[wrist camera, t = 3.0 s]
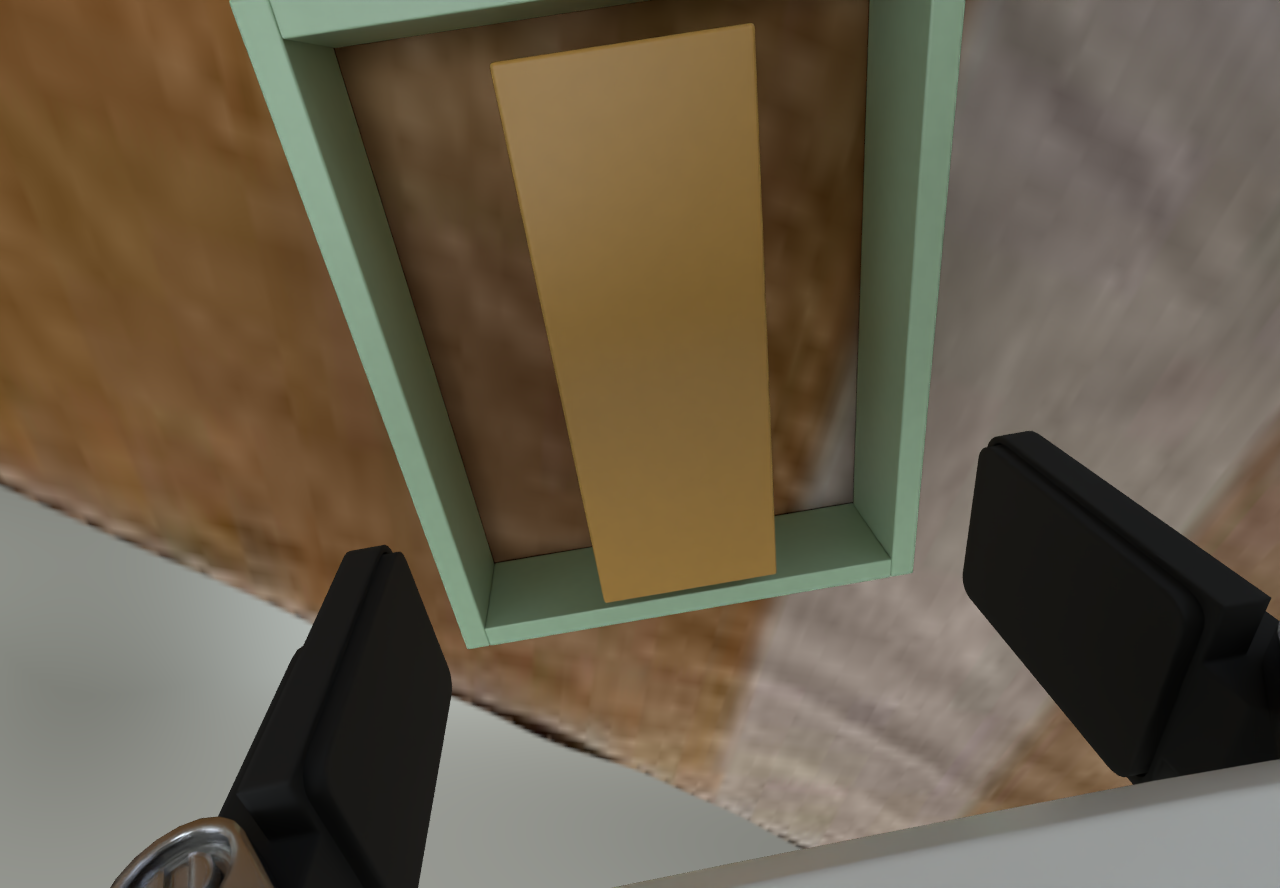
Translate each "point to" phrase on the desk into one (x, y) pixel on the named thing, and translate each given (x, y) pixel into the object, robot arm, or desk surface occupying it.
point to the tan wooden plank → (653, 296)
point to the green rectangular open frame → (405, 379)
